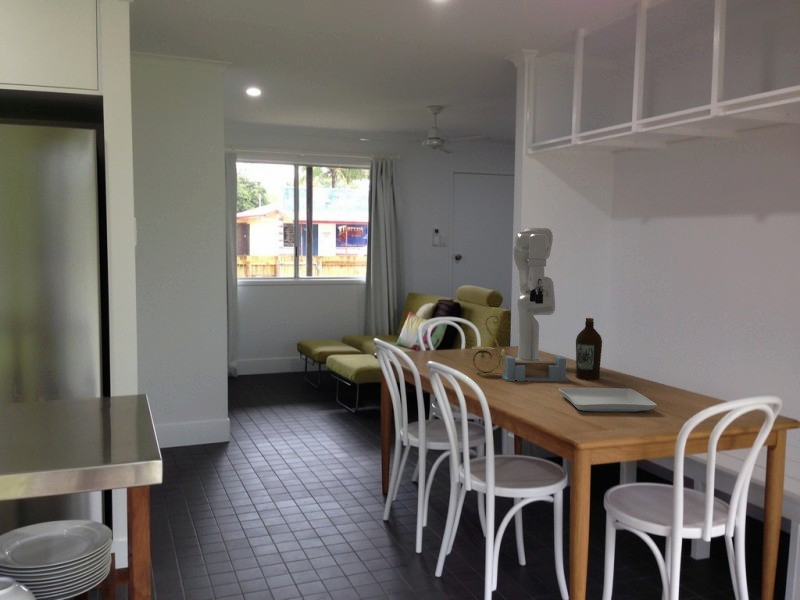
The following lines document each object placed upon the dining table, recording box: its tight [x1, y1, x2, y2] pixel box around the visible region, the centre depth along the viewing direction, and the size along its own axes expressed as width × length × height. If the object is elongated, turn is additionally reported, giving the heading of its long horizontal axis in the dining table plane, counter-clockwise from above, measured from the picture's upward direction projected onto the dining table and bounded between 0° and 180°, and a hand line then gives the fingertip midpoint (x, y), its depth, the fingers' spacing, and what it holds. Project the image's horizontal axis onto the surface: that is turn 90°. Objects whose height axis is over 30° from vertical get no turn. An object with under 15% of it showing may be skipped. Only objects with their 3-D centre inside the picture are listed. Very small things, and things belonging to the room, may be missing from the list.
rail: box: [515, 360, 555, 377], centre depth 292 cm, size 4×16×6 cm, turn 93°
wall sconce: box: [471, 314, 506, 373], centre depth 304 cm, size 14×10×25 cm
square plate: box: [557, 387, 658, 413], centre depth 246 cm, size 27×27×4 cm
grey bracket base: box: [500, 355, 570, 382], centre depth 292 cm, size 10×26×9 cm, turn 93°
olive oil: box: [575, 317, 603, 381], centre depth 295 cm, size 11×11×25 cm
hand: (536, 302), depth 306 cm, fingers open, 9 cm apart
